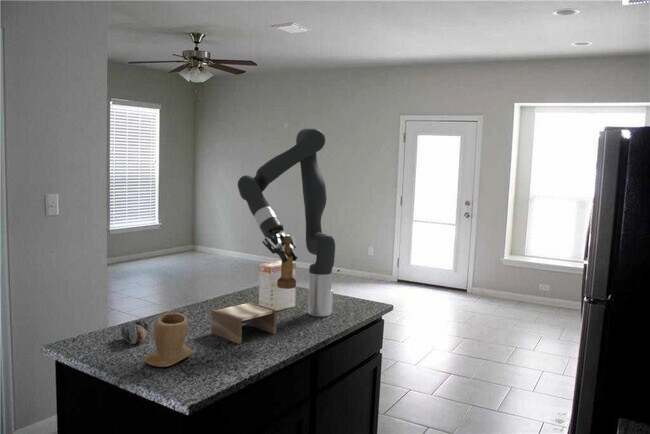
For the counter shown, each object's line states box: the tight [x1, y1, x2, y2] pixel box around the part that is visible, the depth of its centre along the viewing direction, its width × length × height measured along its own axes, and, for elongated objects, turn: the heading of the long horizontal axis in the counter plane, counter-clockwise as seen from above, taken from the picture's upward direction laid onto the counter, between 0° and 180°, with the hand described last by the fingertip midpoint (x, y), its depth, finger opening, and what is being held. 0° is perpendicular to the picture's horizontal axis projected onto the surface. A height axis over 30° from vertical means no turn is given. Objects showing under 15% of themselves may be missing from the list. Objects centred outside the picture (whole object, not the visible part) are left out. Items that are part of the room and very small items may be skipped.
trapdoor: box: [216, 302, 272, 325], centre depth 198 cm, size 14×14×6 cm
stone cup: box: [144, 311, 193, 368], centre depth 170 cm, size 15×12×15 cm
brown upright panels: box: [211, 301, 278, 345], centre depth 199 cm, size 17×16×8 cm
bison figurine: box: [120, 320, 150, 345], centre depth 188 cm, size 12×7×10 cm
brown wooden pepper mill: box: [277, 236, 297, 289], centre depth 194 cm, size 7×6×18 cm
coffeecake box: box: [258, 260, 297, 311], centre depth 232 cm, size 15×7×20 cm, turn 136°
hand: (291, 260), depth 192 cm, fingers closed on brown wooden pepper mill, 4 cm apart
